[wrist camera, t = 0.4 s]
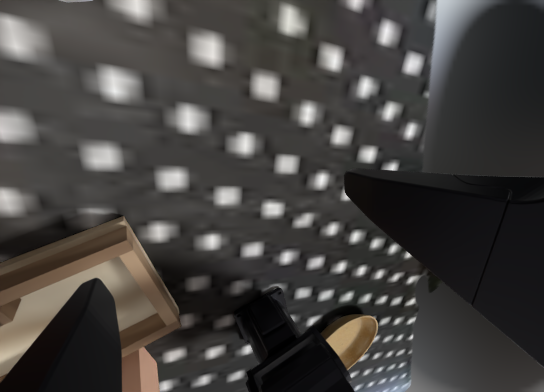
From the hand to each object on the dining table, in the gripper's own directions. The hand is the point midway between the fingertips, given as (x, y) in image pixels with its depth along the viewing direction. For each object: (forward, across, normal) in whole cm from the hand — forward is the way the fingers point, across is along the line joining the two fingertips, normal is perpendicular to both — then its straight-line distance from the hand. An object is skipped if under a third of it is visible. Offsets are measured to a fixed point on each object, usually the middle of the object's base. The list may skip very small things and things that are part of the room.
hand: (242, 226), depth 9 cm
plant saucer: (+15, -13, +41) cm, 46 cm away
